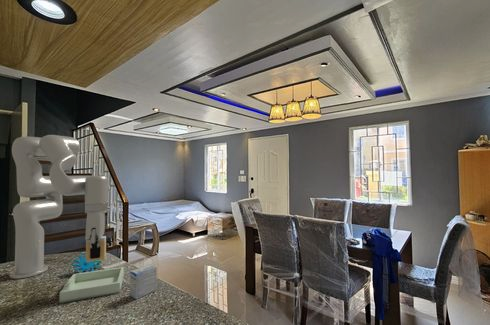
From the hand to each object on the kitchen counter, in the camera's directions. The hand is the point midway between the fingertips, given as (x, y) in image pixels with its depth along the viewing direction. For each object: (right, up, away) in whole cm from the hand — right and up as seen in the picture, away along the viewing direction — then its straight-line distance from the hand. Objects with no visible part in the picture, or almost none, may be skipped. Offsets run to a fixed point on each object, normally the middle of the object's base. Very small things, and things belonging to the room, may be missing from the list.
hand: (96, 255), depth 91 cm
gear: (-13, -13, +15) cm, 23 cm away
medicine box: (+20, -12, -5) cm, 24 cm away
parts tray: (0, -12, 0) cm, 12 cm away
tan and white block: (0, -1, 0) cm, 1 cm away
